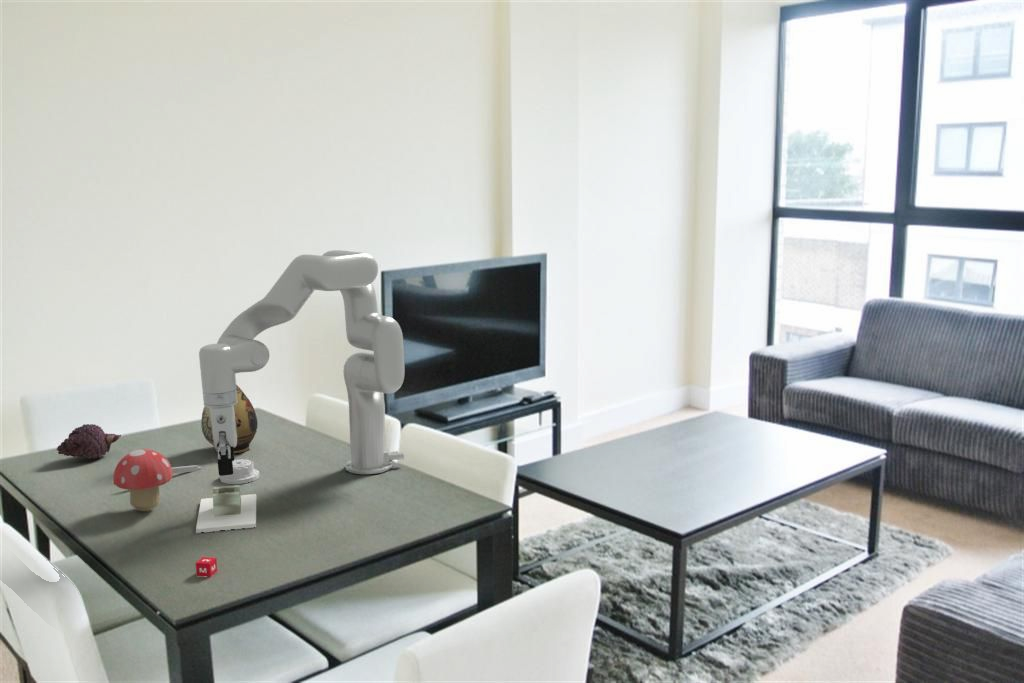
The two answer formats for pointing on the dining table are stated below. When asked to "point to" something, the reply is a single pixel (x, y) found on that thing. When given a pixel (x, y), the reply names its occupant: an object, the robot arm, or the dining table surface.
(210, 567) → the dice
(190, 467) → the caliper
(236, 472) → the mechanical component
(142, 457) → the decorative mushroom
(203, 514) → the pin board
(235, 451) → the ceramic jug
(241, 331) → the robot arm
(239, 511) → the pale green open box
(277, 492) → the dining table surface
